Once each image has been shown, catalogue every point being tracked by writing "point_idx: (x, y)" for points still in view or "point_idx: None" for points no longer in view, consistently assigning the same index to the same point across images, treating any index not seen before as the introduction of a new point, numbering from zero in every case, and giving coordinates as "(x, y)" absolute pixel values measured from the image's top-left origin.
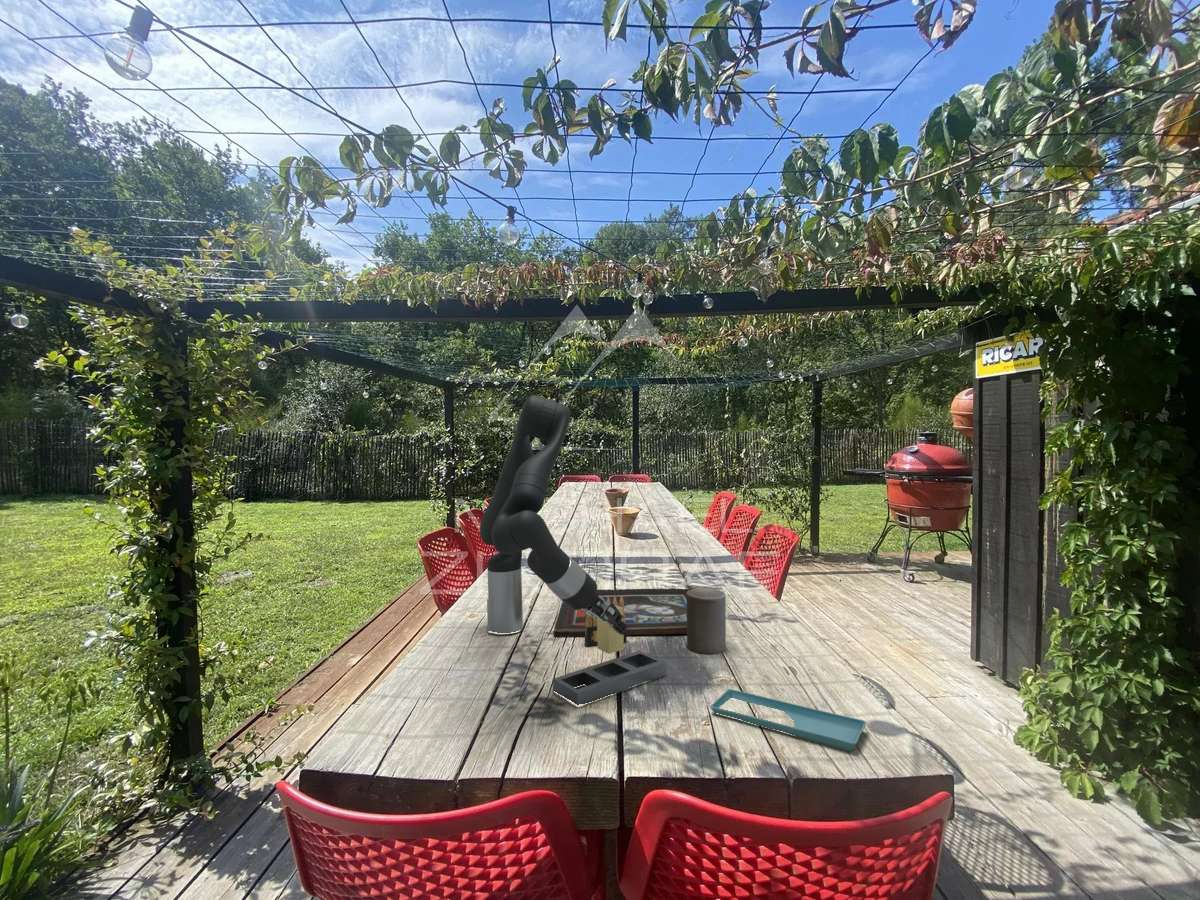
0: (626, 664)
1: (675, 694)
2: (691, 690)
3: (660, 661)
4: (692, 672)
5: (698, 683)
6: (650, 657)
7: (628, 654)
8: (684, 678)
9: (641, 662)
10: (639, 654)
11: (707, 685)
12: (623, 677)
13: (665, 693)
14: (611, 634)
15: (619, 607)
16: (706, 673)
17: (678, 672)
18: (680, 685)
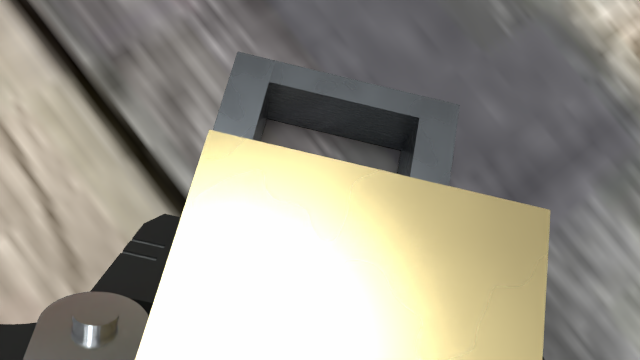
0: None
1: (607, 287)
2: (626, 207)
3: (431, 113)
4: (502, 49)
5: (597, 129)
6: (353, 98)
7: (218, 129)
8: (519, 119)
9: (274, 108)
10: (267, 89)
11: (636, 125)
12: None
13: (567, 308)
14: None
15: (504, 242)
16: (552, 28)
17: (456, 80)
18: (556, 191)
